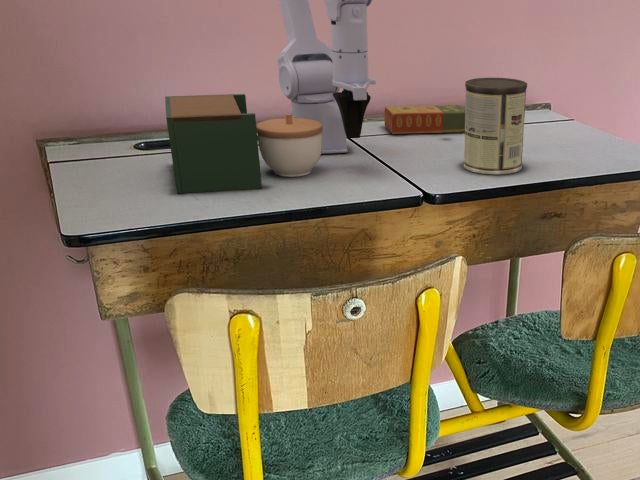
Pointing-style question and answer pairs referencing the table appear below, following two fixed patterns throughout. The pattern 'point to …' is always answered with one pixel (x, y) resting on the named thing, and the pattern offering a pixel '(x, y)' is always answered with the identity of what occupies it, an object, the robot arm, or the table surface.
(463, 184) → the table surface
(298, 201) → the table surface
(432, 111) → the carton
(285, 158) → the trinket box
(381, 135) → the table surface
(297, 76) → the robot arm
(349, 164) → the table surface
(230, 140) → the cabinet
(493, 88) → the coffee can
